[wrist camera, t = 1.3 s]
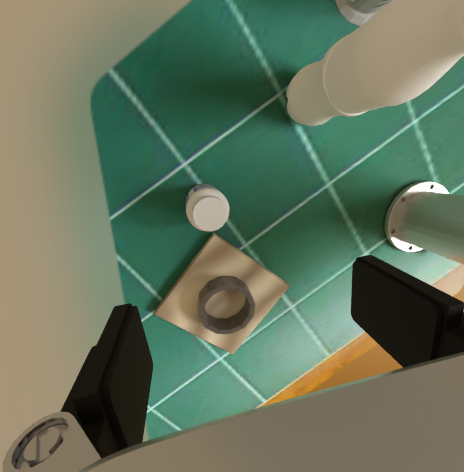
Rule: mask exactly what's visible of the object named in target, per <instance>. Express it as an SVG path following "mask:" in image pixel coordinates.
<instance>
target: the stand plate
mask: <svg viewBox="0 0 464 472" xmlns="http://www.w3.org/2000/svg"><path fill="white" fill-rule="evenodd" d="M219 276H235V277H237V278H238V279H240V280H241V281H243V282H245V283H246V285H247V287H248V289H249V291H250V293H251V295H252V297H253V299H254V302H255V304H256V305H255V310H254V316H253V318H252V319H251V320H250V322H249V323H248V324H247V325H246V327H245V328H243V329H241V330H239V331H237V332H235V333H232V334H216V333H214V332H212V331H210V330H208V329H206V328H205V327H204V325H203V323H202V322H201V320H200V318H199V314H198V298H199V292H200V291H201V290H202V288H203V287H204V286H205V285H206V283H207V282H208V281H211V280H213V279H215V278H217V277H219ZM289 287H290V286H289V285H288V284H287V282H285V281H284V280H282V279H281V278H280V277H278V276H277V275H275V274H274V273H272V272H271V271H269V270H268V269H266V268H265V267H264V266H262V265H261V264H259V263H258V262H256V261H255V260H253V259H252V258H250V257H249V256H248V255H246V254H245V253H243V252H242V251H240V250H239V249H237V248H236V247H234V246H233V245H231V244H230V243H229V242H227V241H226V240H224V239H223V238H221V237H220V236H218V235H217V234H215V233H214V232H213V234H212V235H211V236H210V238H209V239H208V240H207V242H206V243H205V244H204V246H203V247H202V248H201V250H200V251H199V252H198V254H197V255H196V256H195V258H194V259H193V260H192V262H191V263H190V264H189V266H188V267H187V268H186V270H185V271H184V272H183V274H182V275H181V276H180V277H179V279H178V280H177V281H176V283H175V284H174V285H173V287H172V288H171V289H170V291H169V292H168V293H167V295H166V296H165V297H164V299H163V300H162V301H161V303H160V304H159V305H158V307H157V308H156V310H155V315H157V316H159V317H160V318H162V319H164V320H166V321H168V322H170V323H172V324H174V325H176V326H178V327H180V328H182V329H184V330H186V331H188V332H190V333H192V334H194V335H196V336H198V337H200V338H202V339H204V340H206V341H208V342H210V343H212V344H214V345H216V346H218V347H220V348H221V349H223V350H225V351H227V352H229V353H231V354H234V352H235V351H236V350H237V349H238V348H239V346H240V345H241V344H242V343H243V342H244V340H245V339H246V338H247V337H248V336H249V334H250V333H251V332H252V331H253V330H254V329H255V327H256V326H257V325H258V324H259V323H260V321H261V320H262V319H263V318H264V317H265V315H266V314H267V313H268V312H269V311H270V309H271V308H272V307H273V306H274V305H275V303H276V302H277V301H278V300H279V299H280V297H281V296H282V295H283V294H284V293H285V291H286V290H287V289H288V288H289ZM245 298H246V295H244V294H242V293H241V292H239V291H237V290H223V291H220V292H218V293H216V294H214V295H212V297H211V298H210V299H209V301H208V302H207V303H206V304H205V310H206V311H207V313H208V314H210V315H212V316H213V317H215V318H229V317H231V316H234V315H236V314H238V312H239V311H240V310H241V309H242V308H243V306H244V304H245Z"/></svg>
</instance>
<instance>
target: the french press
mask: <svg viewBox="0 0 464 472" xmlns="http://www.w3.org/2000/svg"><path fill="white" fill-rule="evenodd" d="M335 1H336V4H337V7H338V9H339V12H340V13H341V14H342V15H343V16H344V17H345V18H346V19H347V20H348V21H349V22H350V23H353V24H356V25H359V26H362V25H363V24H364V23H366V22H367V21H368V20H370V19H371V17H372V16H373V15H374V14H375V13H376V12H377V11H379V10H380V9H382V8H383V7H384V6H386V5H388V4H390V3H391V2H393V1H395V0H335Z"/></svg>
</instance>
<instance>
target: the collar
mask: <svg viewBox="0 0 464 472" xmlns="http://www.w3.org/2000/svg"><path fill="white" fill-rule="evenodd" d="M223 290H237V291H239V292H241V293H242V294H244V295H246V298H245V304H244V306H243V308H242V309H241V310H240V311H239V312H238V314H236V315H234V316H231V317H229V318H215V317H213V316H212V315H210V314H208V313H207V311H206V310H205V304H206V303H207V302H208V301H209V299H210V298H211V297H212V295H214V294H216V293H218V292H220V291H223ZM255 305H256V304H255V302H254V299H253V297H252V295H251V293H250V291H249V289H248V287H247V285H246V283H245V282H243V281H241V280H240V279H238V278H237V277H235V276H219V277H217V278H215V279H213V280H211V281H208V282H207V283H206V285H205V286H204V287H203V288H202V290H201V291H200V292H199V298H198V314H199V318H200V320H201V322H202V323H203V325H204V327H205V328H206V329H208V330H210V331H212V332H214V333H216V334H232V333H235V332H237V331H239V330H241V329H243V328H245V327H246V325H247V324H248V323H249V322H250V320H251V319H252V318H253V316H254V310H255Z"/></svg>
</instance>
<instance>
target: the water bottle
mask: <svg viewBox="0 0 464 472" xmlns="http://www.w3.org/2000/svg"><path fill="white" fill-rule="evenodd" d="M463 56H464V0H395V1H393V2H391V3H390V4H388V5H386V6H384V7H383V8H382V9H380V10H379V11H377V12H376V13H375V14H374V15H373V16H372V17H371V19H370V20H368V21H367V22H366V23H364V24H363V25H362V26H360V27H359V28H358V29H356V30H355V31H354V32H352V33H351V34H349V35H347V36H345V37H343V38H342V39H341V40H339V41H338V42H337V43H335V44H334V45H333V46H332V47H331V48H330V49H329V50H328V51H327V53H326V55H325V56H324V59H323V60H321V61H319V62H314V63H311V64H309V65H307V66H305V67H304V68H303V69H301V70H300V71H299V72H298V73H297V74H296V75H295V76H294V77H293V79H292V80H291V82H290V84H289V86H288V88H287V91H286V97H287V98H288V103H287V112H288V114H289V115H290V117H291V118H292V119H293V120H294V121H295V122H297V123H299V124H303V125H307V126H316V125H320V124H323V123H325V122H327V121H328V120H329V119H331V118H333V117H336V116H349V117H351V116H356V115H360V114H363V113H365V112H367V111H370V110H374V109H378V108H382V107H386V106H396V105H399V104H402V103H405V102H407V101H409V100H412V99H413V98H415V97H417V96H419V95H420V94H422V93H423V92H424V91H426V90H427V89H428V88H430V87H431V86H432V85H433V84H434V83H435V82H436V81H437V80H438V79H440V78H441V77H442V76H443V75H444V74H445V73H446V72H447V71H448V70H449V69H450V68H451V67H452V66H453V65H454V64H455V63H456V62H457V61H458V60H459V59H460V58H461V57H463Z"/></svg>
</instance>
